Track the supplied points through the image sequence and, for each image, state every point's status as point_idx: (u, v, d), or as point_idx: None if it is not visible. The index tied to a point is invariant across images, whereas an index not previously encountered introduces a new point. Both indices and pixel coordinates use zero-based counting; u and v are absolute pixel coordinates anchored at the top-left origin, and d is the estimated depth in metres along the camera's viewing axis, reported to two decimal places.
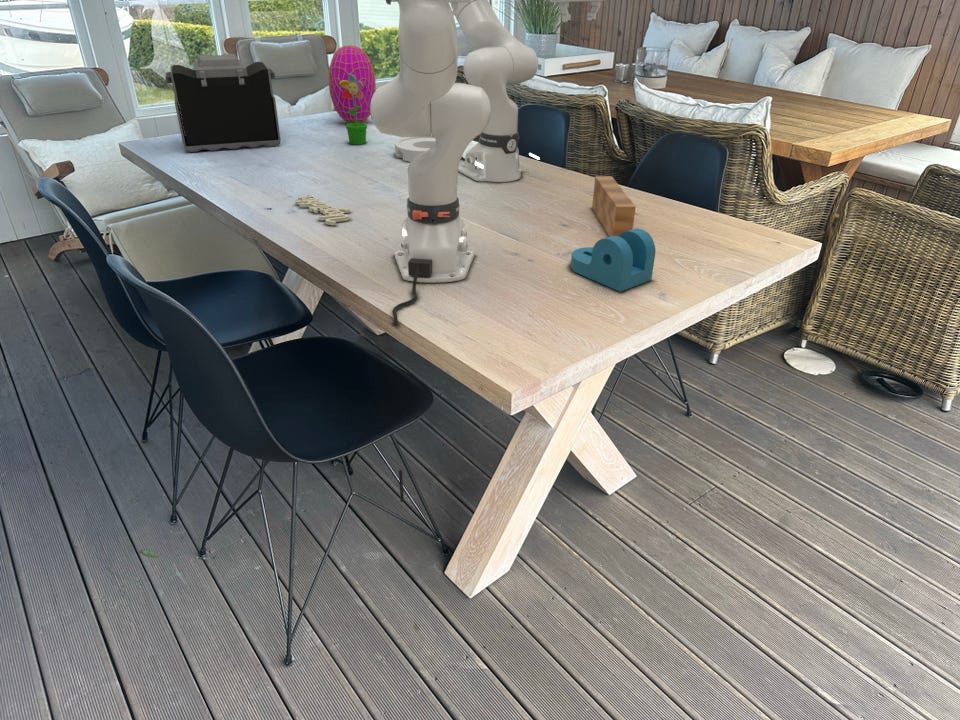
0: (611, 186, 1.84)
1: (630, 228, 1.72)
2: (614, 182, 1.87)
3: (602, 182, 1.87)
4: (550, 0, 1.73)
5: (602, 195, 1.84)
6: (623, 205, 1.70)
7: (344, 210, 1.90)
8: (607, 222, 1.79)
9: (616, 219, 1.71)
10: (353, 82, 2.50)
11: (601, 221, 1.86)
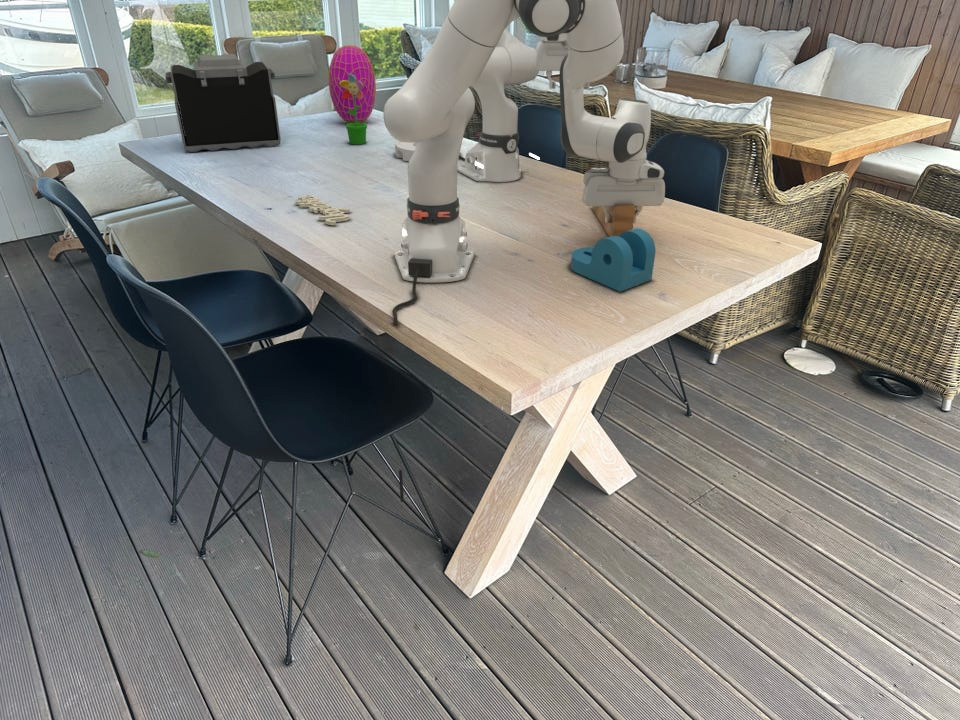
0: None
1: (630, 228, 1.72)
2: None
3: None
4: None
5: None
6: (623, 205, 1.70)
7: (344, 210, 1.90)
8: None
9: (616, 219, 1.71)
10: (353, 82, 2.50)
11: (601, 221, 1.86)
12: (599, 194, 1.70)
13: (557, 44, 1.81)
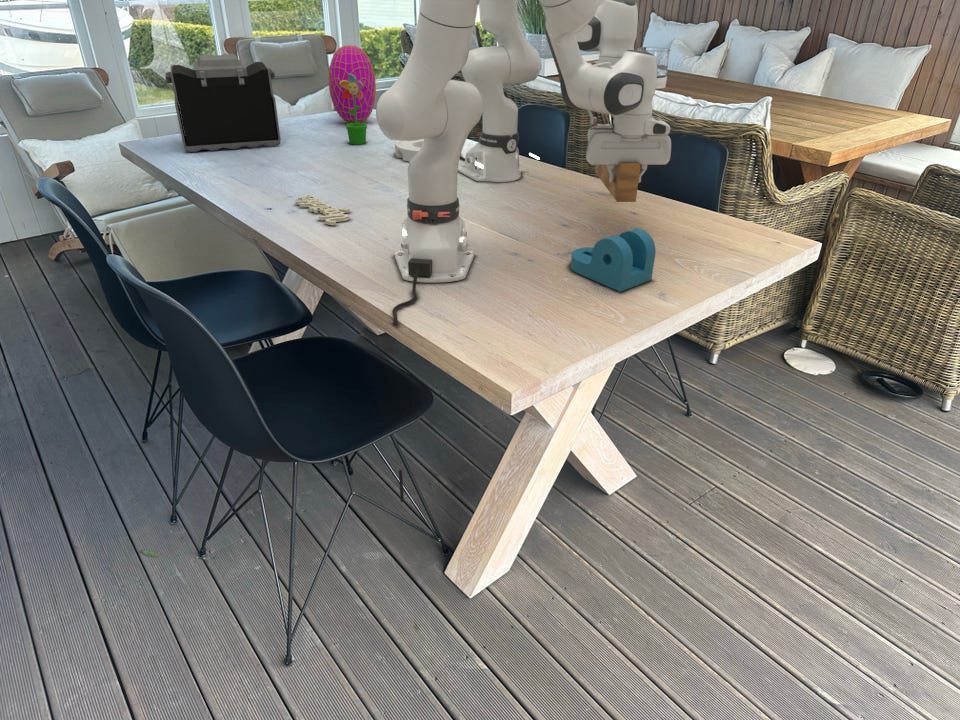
0: None
1: (635, 187, 1.67)
2: None
3: None
4: None
5: None
6: (628, 163, 1.64)
7: (344, 210, 1.90)
8: (611, 183, 1.74)
9: (620, 178, 1.66)
10: (353, 82, 2.50)
11: (605, 183, 1.80)
12: (603, 152, 1.64)
13: None
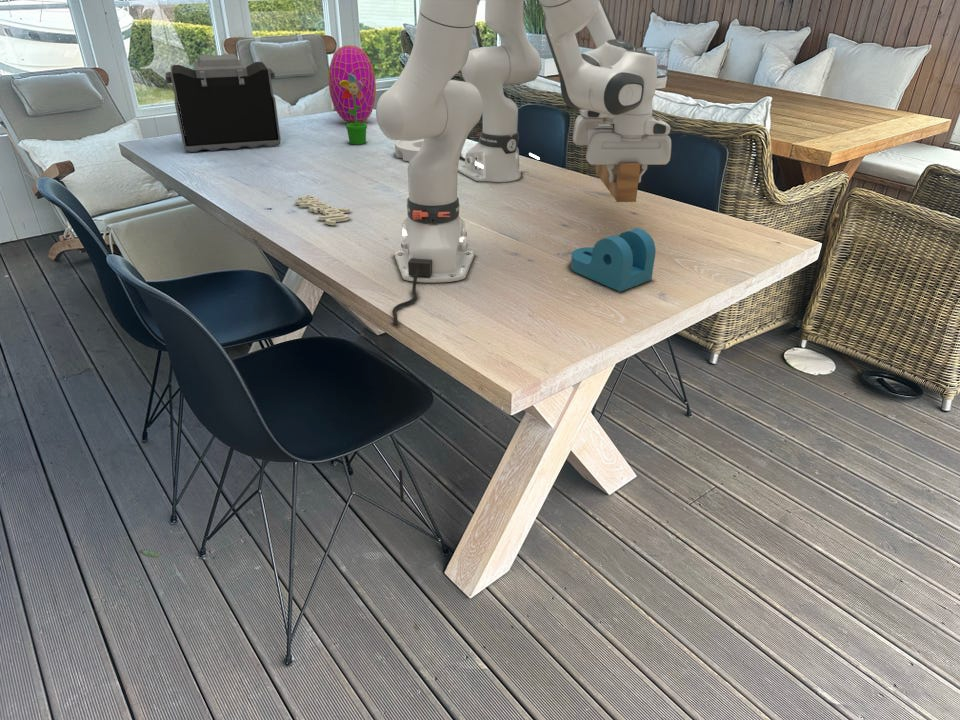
0: None
1: (635, 187, 1.67)
2: None
3: None
4: None
5: None
6: (628, 163, 1.64)
7: (344, 210, 1.90)
8: (611, 183, 1.74)
9: (620, 178, 1.66)
10: (353, 82, 2.50)
11: (605, 183, 1.80)
12: (603, 152, 1.64)
13: (598, 120, 1.78)
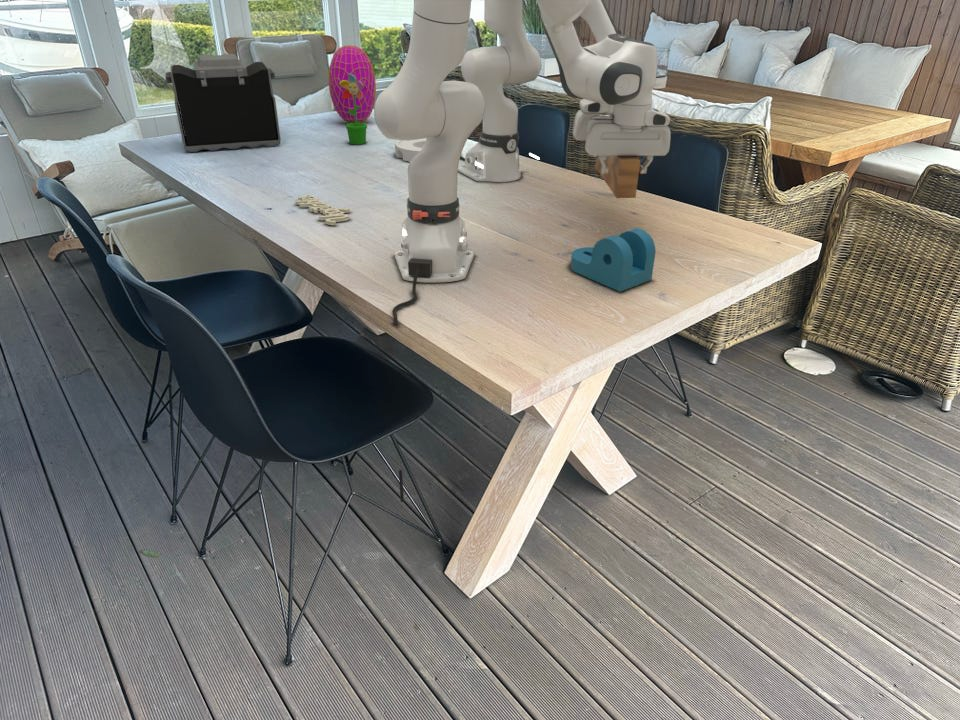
0: None
1: (635, 183, 1.67)
2: None
3: None
4: None
5: None
6: (628, 159, 1.64)
7: (344, 210, 1.90)
8: (611, 178, 1.73)
9: (620, 173, 1.65)
10: (353, 82, 2.50)
11: (605, 179, 1.80)
12: (602, 143, 1.63)
13: None
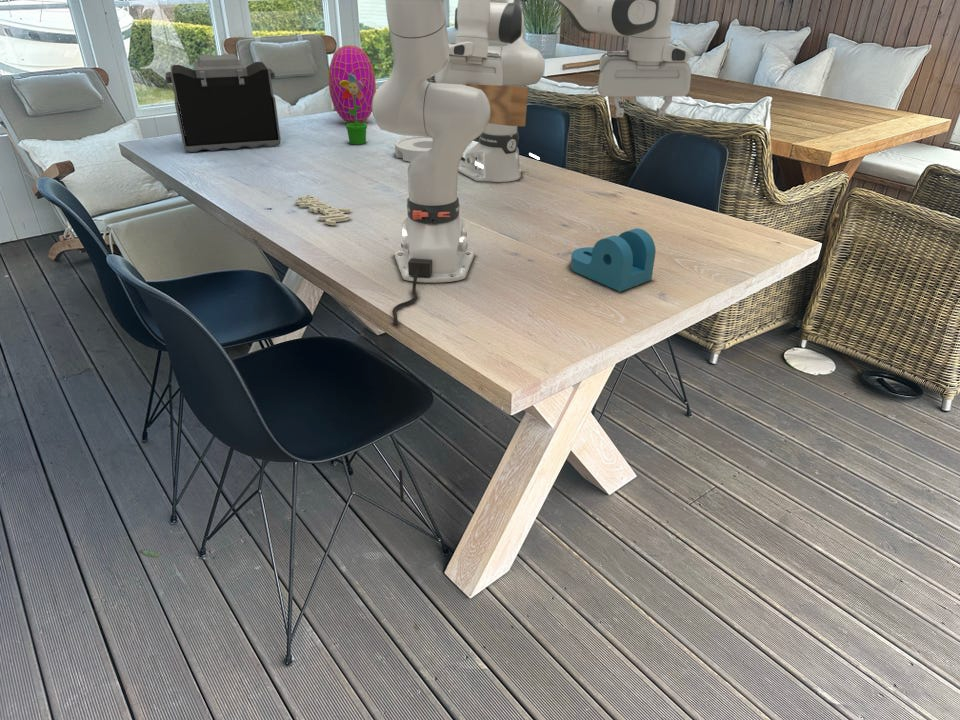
0: None
1: (524, 111, 1.72)
2: None
3: None
4: None
5: None
6: None
7: (344, 210, 1.90)
8: (494, 113, 1.76)
9: (513, 100, 1.69)
10: (353, 82, 2.50)
11: None
12: (616, 82, 1.51)
13: (462, 59, 1.81)
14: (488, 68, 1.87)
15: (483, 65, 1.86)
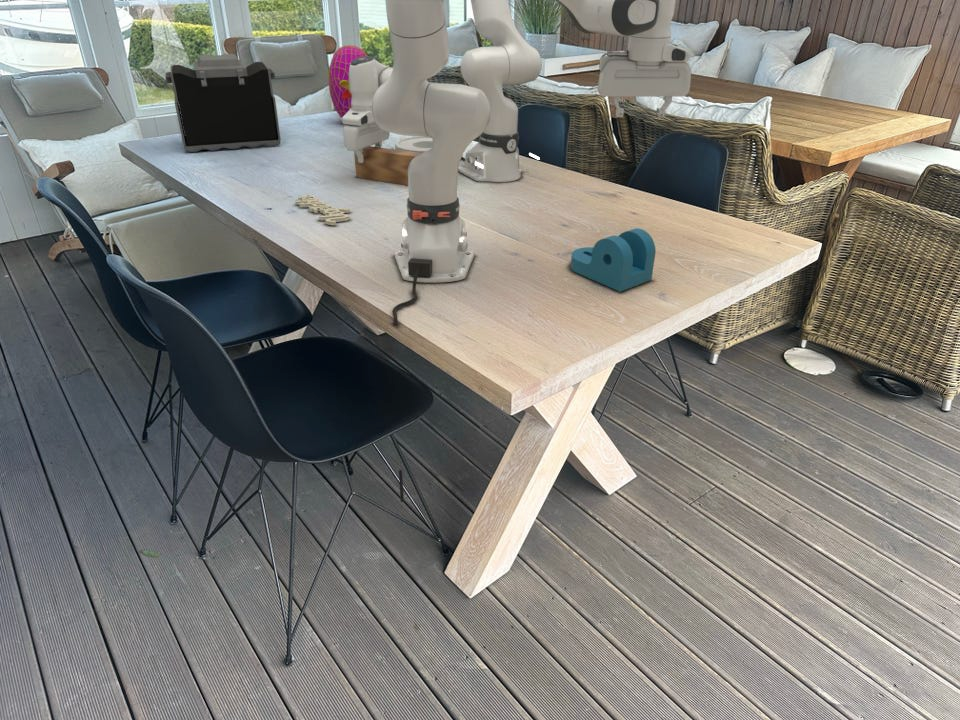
0: (384, 150, 2.15)
1: None
2: (377, 147, 2.18)
3: (372, 149, 2.16)
4: (347, 149, 2.10)
5: (383, 159, 2.14)
6: None
7: (344, 210, 1.90)
8: None
9: None
10: None
11: (390, 180, 2.17)
12: (616, 82, 1.51)
13: (366, 126, 2.09)
14: None
15: None
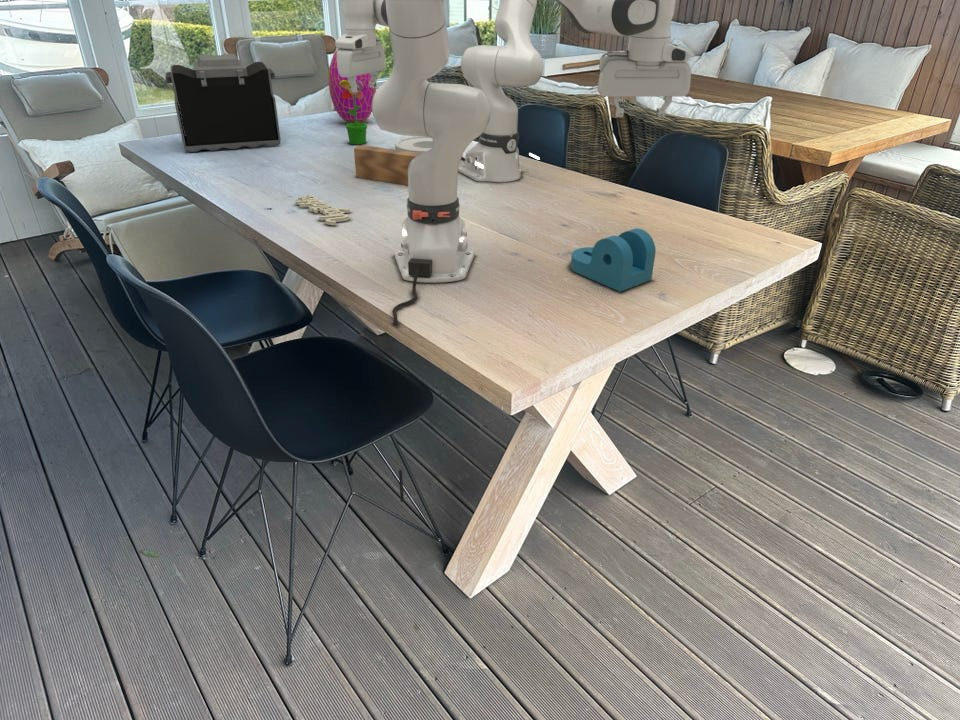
0: (384, 150, 2.15)
1: None
2: (377, 147, 2.18)
3: (372, 149, 2.16)
4: (340, 75, 1.99)
5: (383, 159, 2.14)
6: None
7: (344, 210, 1.90)
8: None
9: None
10: None
11: (390, 180, 2.17)
12: (616, 82, 1.51)
13: (360, 51, 1.98)
14: (375, 53, 2.07)
15: (372, 51, 2.05)
